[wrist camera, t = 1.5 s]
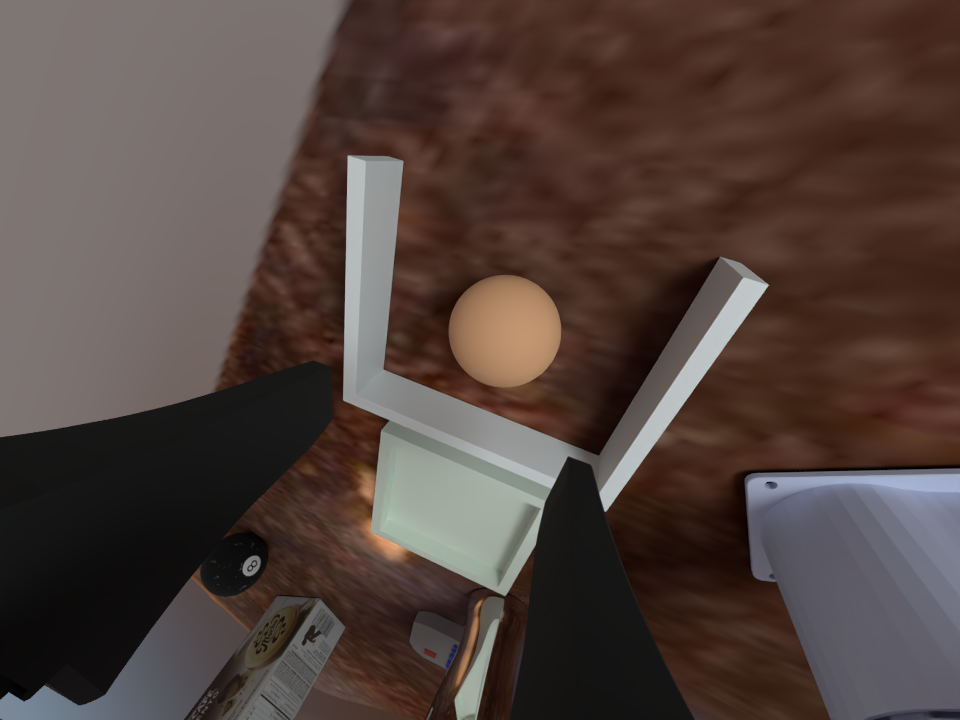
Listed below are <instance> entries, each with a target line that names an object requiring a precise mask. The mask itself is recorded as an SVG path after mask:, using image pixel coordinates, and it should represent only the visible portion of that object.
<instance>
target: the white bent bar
mask: <svg viewBox="0 0 960 720" xmlns="http://www.w3.org/2000/svg"><path fill="white" fill-rule="evenodd" d="M402 171H403V161H402V160H398V159H395V158H392V157H388V156H348V178H347V228H346V279H345V330H344V381H343V401H345V402H348V403H350V404H352V405H355V406H357V407H360V408H362V409H364V410H367V411H369V412H371V413H374V414H376V415H378V416H381V417H383V418H385V419H388V420H390V421H393V422H395V423H397V424H400V425H402V426H404V427H407V428H409V429H411V430H414V431H416V432H419V433H421V434H423V435H426V436H428V437H430V438H433V439H435V440H437V441H440V442H442V443H445V444H447V445H449V446H452V447H454V448H456V449H459V450H461V451H463V452H466V453H468V454H471V455H473V456H475V457H478V458H480V459H482V460H485V461H487V462H489V463H492V464H494V465H497V466H499V467H501V468H504V469H506V470H508V471H511V472H513V473H515V474H518V475H520V476H523V477H525V478H527V479H530V480H532V481H534V482H537V483H539V484H541V485H544V486H546V487H548V488H551V489H552V487H553V485H554V483H555V481H556V479H557V477H558V475H559V473H560V471H561V469H562V467H563V465H564V463H565V461H566V459H567V457H568V456H569V457H572V458H575V459H577V460H580V461H583V462H585V463H588V464H591V466H592V468H593V471H594V475H595V479H596V483H597V487H598V491H599V494H600V498H601V501H602V504H603V508H604V511H605V512H606V511H607V510H608V508H609V507H610V505H611V504H612V503H613V501H614V500H615V498H616V497H617V496H618V494H619V493H620V491H621V490H622V489H623V487H624V486H625V484H626V483H627V482H628V480H629V479H630V478H631V476H632V475H633V473H634V472H635V471H636V469H637V468H638V466H639V465H640V464H641V462H642V461H643V459H644V458H645V457H646V455H647V454H648V452H649V451H650V450H651V448H652V447H653V446H654V444H655V443H656V441H657V440H658V439H659V437H660V436H661V434H662V433H663V432H664V430H665V429H666V427H667V426H668V425H669V423H670V422H671V420H672V419H673V418H674V416H675V415H676V414H677V412H678V411H679V409H680V408H681V407H682V405H683V404H684V402H685V401H686V400H687V398H688V397H689V395H690V394H691V393H692V391H693V390H694V388H695V387H696V386H697V384H698V383H699V382H700V380H701V379H702V377H703V376H704V375H705V373H706V372H707V370H708V369H709V368H710V366H711V365H712V363H713V362H714V361H715V359H716V358H717V356H718V355H719V354H720V352H721V351H722V350H723V348H724V347H725V345H726V344H727V343H728V341H729V340H730V338H731V337H732V336H733V334H734V333H735V331H736V330H737V329H738V327H739V326H740V324H741V323H742V322H743V320H744V319H745V318H746V316H747V315H748V313H749V312H750V311H751V309H752V308H753V306H754V305H755V304H756V302H757V301H758V299H759V298H760V297H761V295H762V294H763V293H764V291H765V290H766V288H767V287H768V286H769V285H768V284H767V283H766V282H764V281H763V280H762V279H760V278H759V277H758V276H757V275H755V274H754V273H753V272H752V271H750V270H749V269H748V268H746V267H745V266H744V265H743V264H741V263H739V262H736V261H732V260H729V259H726V258H722V257H720V258H719V260H718V261H717V263H716V265H715V266H714V268H713V270H712V271H711V273H710V274H709V276H708V278H707V279H706V281H705V283H704V284H703V286H702V288H701V289H700V291H699V292H698V294H697V296H696V297H695V299H694V301H693V302H692V304H691V306H690V307H689V309H688V311H687V312H686V314H685V315H684V317H683V319H682V320H681V322H680V324H679V325H678V327H677V329H676V330H675V332H674V333H673V335H672V337H671V338H670V340H669V342H668V343H667V345H666V347H665V348H664V350H663V351H662V353H661V355H660V356H659V358H658V360H657V361H656V363H655V365H654V366H653V368H652V370H651V371H650V373H649V374H648V376H647V378H646V379H645V381H644V383H643V384H642V386H641V388H640V389H639V391H638V392H637V394H636V396H635V397H634V399H633V401H632V402H631V404H630V406H629V407H628V409H627V410H626V412H625V414H624V415H623V417H622V419H621V420H620V422H619V424H618V425H617V427H616V429H615V430H614V432H613V433H612V435H611V437H610V438H609V440H608V442H607V443H606V445H605V447H604V448H603V450H602V451H601V453H600V455H599V456H598V455H595V454H593V453H590V452H588V451H585V450H583V449H580V448H578V447H575V446H573V445H570V444H568V443H565V442H563V441H560V440H558V439H555V438H553V437H550V436H548V435H545V434H543V433H540V432H538V431H535V430H533V429H530V428H528V427H526V426H523V425H521V424H518V423H516V422H513V421H511V420H508V419H506V418H503V417H501V416H498V415H496V414H493V413H491V412H488V411H486V410H483V409H481V408H478V407H476V406H473V405H471V404H468V403H466V402H463V401H461V400H458V399H456V398H453V397H451V396H448V395H446V394H443V393H441V392H438V391H436V390H433V389H431V388H428V387H426V386H423V385H421V384H418V383H416V382H413V381H411V380H408V379H406V378H403V377H401V376H398V375H396V374H393V373H391V372H388V371H386V370H383V369H384V359H385V348H386V338H387V328H388V317H389V307H390V296H391V286H392V275H393V265H394V255H395V244H396V234H397V223H398V213H399V202H400V192H401V182H402Z"/></svg>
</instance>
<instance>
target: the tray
mask: <svg viewBox="0 0 960 720" xmlns="http://www.w3.org/2000/svg"><path fill="white" fill-rule="evenodd" d="M550 491H551V488H548V487H546V486H544V485H541V484H539V483H537V482H534V481H532V480H530V479H527V478H525V477H523V476H520V475H518V474H515V473H513V472H511V471H508V470H506V469H504V468H501V467H499V466H497V465H494V464H492V463H489V462H487V461H485V460H482V459H480V458H478V457H475V456H473V455H471V454H468V453H466V452H463V451H461V450H459V449H456V448H454V447H452V446H449V445H447V444H445V443H442V442H440V441H437V440H435V439H433V438H430V437H428V436H426V435H423V434H421V433H419V432H416V431H414V430H411V429H409V428H407V427H404V426H402V425H400V424H397V423H395V422H393V421H389V422H388V423H387V424H386V425H385V427H384V428H383V429H382V430H381V437H380V447H379V456H378V466H377V476H376V485H375V495H374V504H373V514H372V524H371V532H372V533H374V534H376V535H378V536H380V537H383V538H385V539H387V540H389V541H391V542H393V543H395V544H397V545H399V546H401V547H403V548H406V549H408V550H410V551H412V552H414V553H416V554H418V555H420V556H422V557H424V558H426V559H429V560H431V561H433V562H435V563H437V564H439V565H441V566H443V567H445V568H447V569H449V570H451V571H454V572H456V573H458V574H460V575H462V576H464V577H466V578H468V579H470V580H472V581H474V582H477V583H479V584H481V585H483V586H485V587H487V588H489V589H491V590H493V591H495V592H497V593H500V594H502V595H504V596H506V594H507V593H508V591H509V589H510V588H511V586H512V584H513V582H514V581H515V579H516V577H517V576H518V574H519V572H520V570H521V569H522V567H523V565H524V564H525V562H526V560H527V559H528V557H529V555H530V553H531V552H532V550H533V548H534V547H535V545H536V540H537V535H538V530H539V526H540V521H541V517H542V513H543V508H544V504H545V501H546V499H547V497H548V495H549V493H550Z"/></svg>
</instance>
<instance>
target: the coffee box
mask: <svg viewBox="0 0 960 720" xmlns="http://www.w3.org/2000/svg"><path fill="white" fill-rule="evenodd" d="M344 629H345V626H344V625H343V624H342V623H341V621H340V620H339V619H338V618H337V617H336V616H335V615H334V614H333V613H332V611H331V610H330V609H329V608H328V607H327V606H326V605H325V604H324V602H323V601H322V600H321V599H319V598H306V597H288V596H277V597H276V598H275V600H274V601H273V602H272V604H271V605H270V607H269V608H268V609H267V610H266V612H265V613H264V614H263V616H262V617H261V618H260V620H259V621H258V622H257V624H256V625H255V626H254V628H253V629H252V630H251V632H250V633H249V634H248V636H247V637H246V638H245V640H244V641H243V642H242V644H241V645H240V647H239V648H238V649H237V650H236V652H235V653H234V654H233V656H232V657H231V658H230V660H229V661H228V662H227V663H226V665H225V666H224V668H223V669H222V670H221V672H220V673H219V674H218V675H217V677H216V678H215V679H214V681H213V682H212V684H211V685H210V686H209V687H208V689H207V690H206V691H205V693H204V694H203V695H202V697H201V698H200V699H199V701H198V702H197V703H196V705H195V706H194V707H193V708H192V710H191V711H190V712H189V714H188V715H187V716H186V718H185V719H184V720H293V719H294V717H295V716H296V714H297V712H298V710H299V709H300V707H301V705H302V703H303V702H304V700H305V698H306V696H307V694H308V693H309V691H310V689H311V687H312V686H313V684H314V682H315V680H316V679H317V677H318V675H319V673H320V672H321V670H322V668H323V666H324V664H325V663H326V661H327V659H328V657H329V656H330V654H331V652H332V650H333V649H334V647H335V645H336V643H337V641H338V640H339V638H340V636H341V634H342V633H343V631H344Z"/></svg>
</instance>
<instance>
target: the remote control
mask: <svg viewBox="0 0 960 720" xmlns="http://www.w3.org/2000/svg"><path fill="white" fill-rule="evenodd" d="M463 628H464V627H462V626H460V625H458V624H456V623H454V622H452V621H450V620H448V619H446V618H444V617H442V616H440V615H438V614H435V613H431V612H427V611H418V613H417V616H416V618H415V620H414V623H413V628H412V632H411V637H410V641H409V642H410V644H411V645H412V647H413V649H414V650H415V651H416V652H417V653H418V654H420V655H421V656H422V657H423V658H425V659H427V660H429V661H431V662H433V663H435V664H437V665H439V666H441V667H443V668H445V669H447V670H448V668H449V666H450V664H451V662H452V660H453V658H454V655H455V653H456V651H457V648H458V645H459V642H460V639H461V636H462V632H463Z"/></svg>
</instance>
